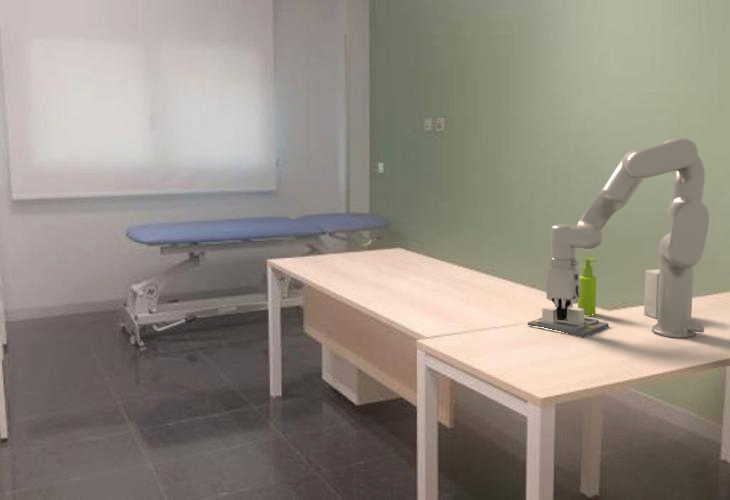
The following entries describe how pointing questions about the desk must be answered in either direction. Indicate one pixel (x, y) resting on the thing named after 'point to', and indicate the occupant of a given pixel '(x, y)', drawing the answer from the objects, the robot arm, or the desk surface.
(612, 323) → the desk surface
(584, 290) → the soap dispenser
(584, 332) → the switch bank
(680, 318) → the robot arm
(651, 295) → the skincare box
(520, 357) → the desk surface
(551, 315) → the tab
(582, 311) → the tab
